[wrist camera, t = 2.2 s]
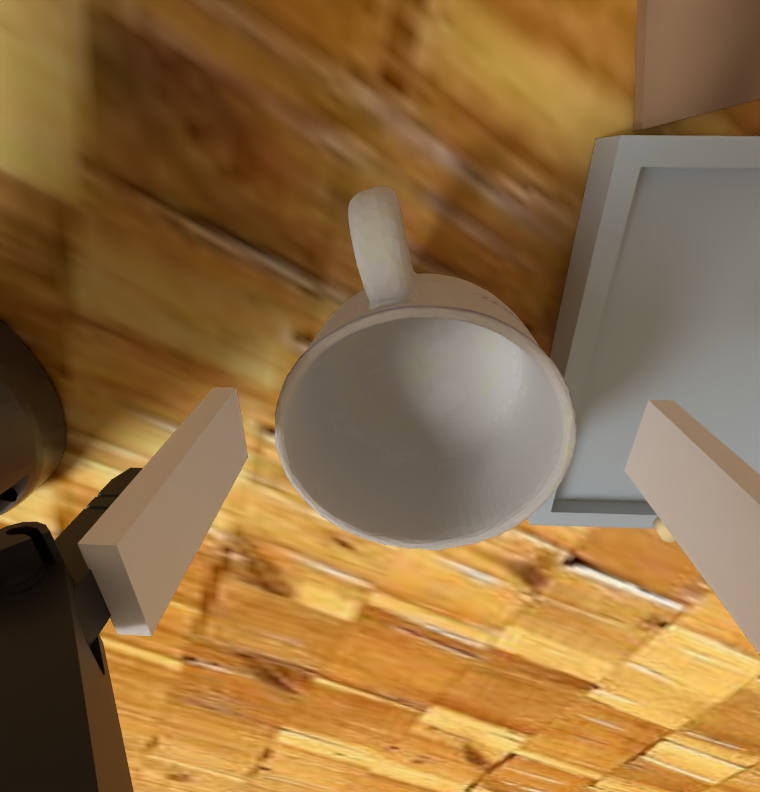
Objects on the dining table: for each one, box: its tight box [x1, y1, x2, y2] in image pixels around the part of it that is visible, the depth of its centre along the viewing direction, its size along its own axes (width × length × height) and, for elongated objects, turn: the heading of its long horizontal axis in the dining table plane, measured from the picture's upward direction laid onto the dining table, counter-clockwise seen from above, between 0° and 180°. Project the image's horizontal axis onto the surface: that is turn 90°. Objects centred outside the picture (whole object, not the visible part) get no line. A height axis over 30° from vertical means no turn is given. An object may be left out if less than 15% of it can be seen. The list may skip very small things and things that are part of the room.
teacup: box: [275, 186, 577, 550], centre depth 18 cm, size 14×11×8 cm
